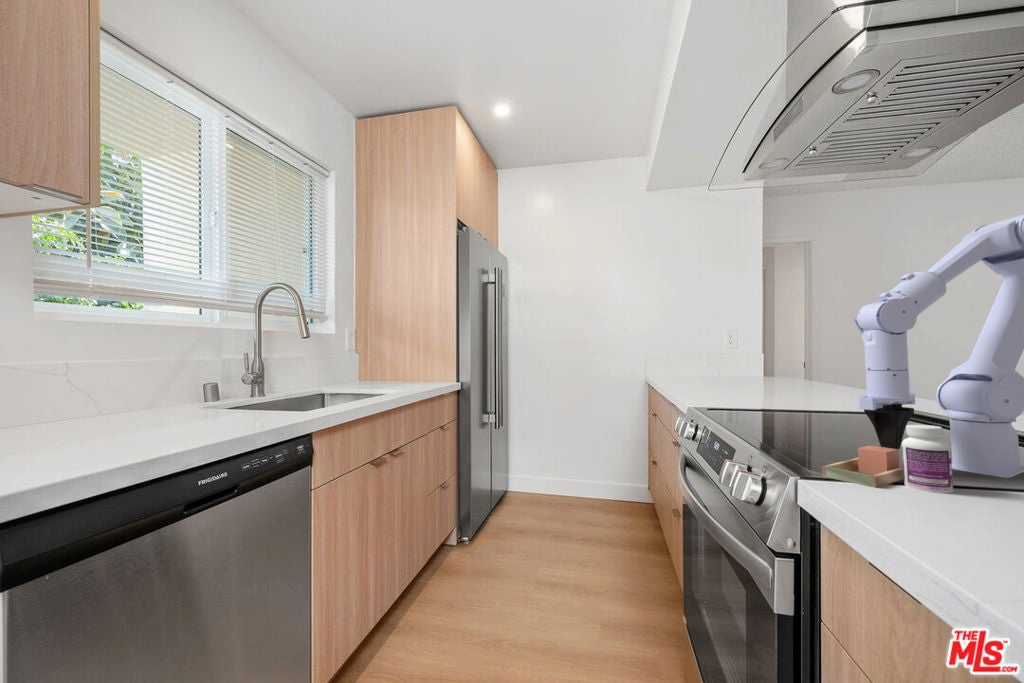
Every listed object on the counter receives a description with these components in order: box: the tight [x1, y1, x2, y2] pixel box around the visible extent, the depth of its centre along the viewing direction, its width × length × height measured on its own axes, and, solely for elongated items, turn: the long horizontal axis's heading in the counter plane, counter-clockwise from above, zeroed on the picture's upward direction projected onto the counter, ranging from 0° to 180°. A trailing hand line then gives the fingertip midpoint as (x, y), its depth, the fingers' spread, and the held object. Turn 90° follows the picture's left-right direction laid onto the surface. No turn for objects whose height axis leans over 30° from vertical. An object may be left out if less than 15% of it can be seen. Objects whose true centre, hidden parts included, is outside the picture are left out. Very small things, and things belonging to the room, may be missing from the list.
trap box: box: [821, 457, 904, 489], centre depth 72 cm, size 16×7×2 cm, turn 117°
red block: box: [857, 445, 900, 475], centre depth 73 cm, size 4×4×4 cm
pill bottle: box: [901, 424, 954, 494], centre depth 65 cm, size 5×5×10 cm
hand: (890, 448), depth 75 cm, fingers closed
